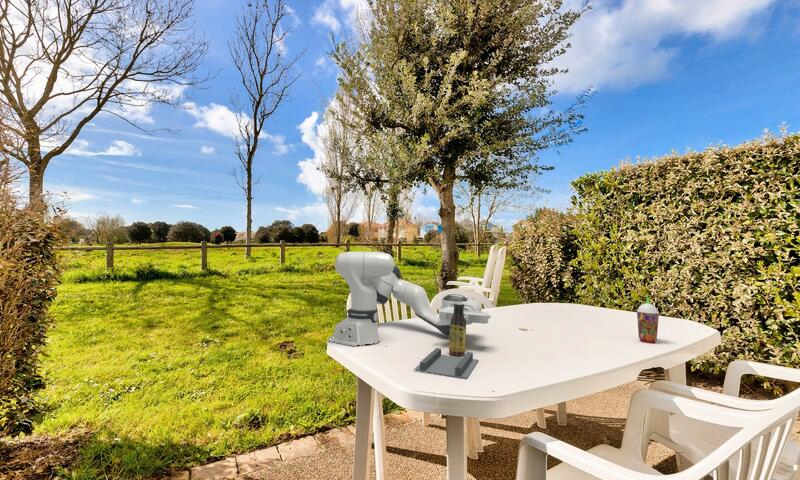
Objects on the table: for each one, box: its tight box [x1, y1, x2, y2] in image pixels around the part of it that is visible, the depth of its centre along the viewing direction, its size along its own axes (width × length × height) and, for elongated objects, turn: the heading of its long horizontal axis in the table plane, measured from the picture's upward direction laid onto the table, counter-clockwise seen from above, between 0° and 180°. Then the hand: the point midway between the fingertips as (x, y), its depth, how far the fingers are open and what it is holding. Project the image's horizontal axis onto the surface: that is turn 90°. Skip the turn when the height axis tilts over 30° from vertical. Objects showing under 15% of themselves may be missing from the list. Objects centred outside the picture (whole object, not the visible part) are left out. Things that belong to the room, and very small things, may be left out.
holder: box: [413, 347, 480, 380], centre depth 128 cm, size 18×20×3 cm
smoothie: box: [636, 297, 660, 344], centre depth 165 cm, size 8×8×20 cm
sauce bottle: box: [448, 302, 467, 357], centre depth 142 cm, size 7×6×20 cm
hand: (459, 319), depth 144 cm, fingers closed
